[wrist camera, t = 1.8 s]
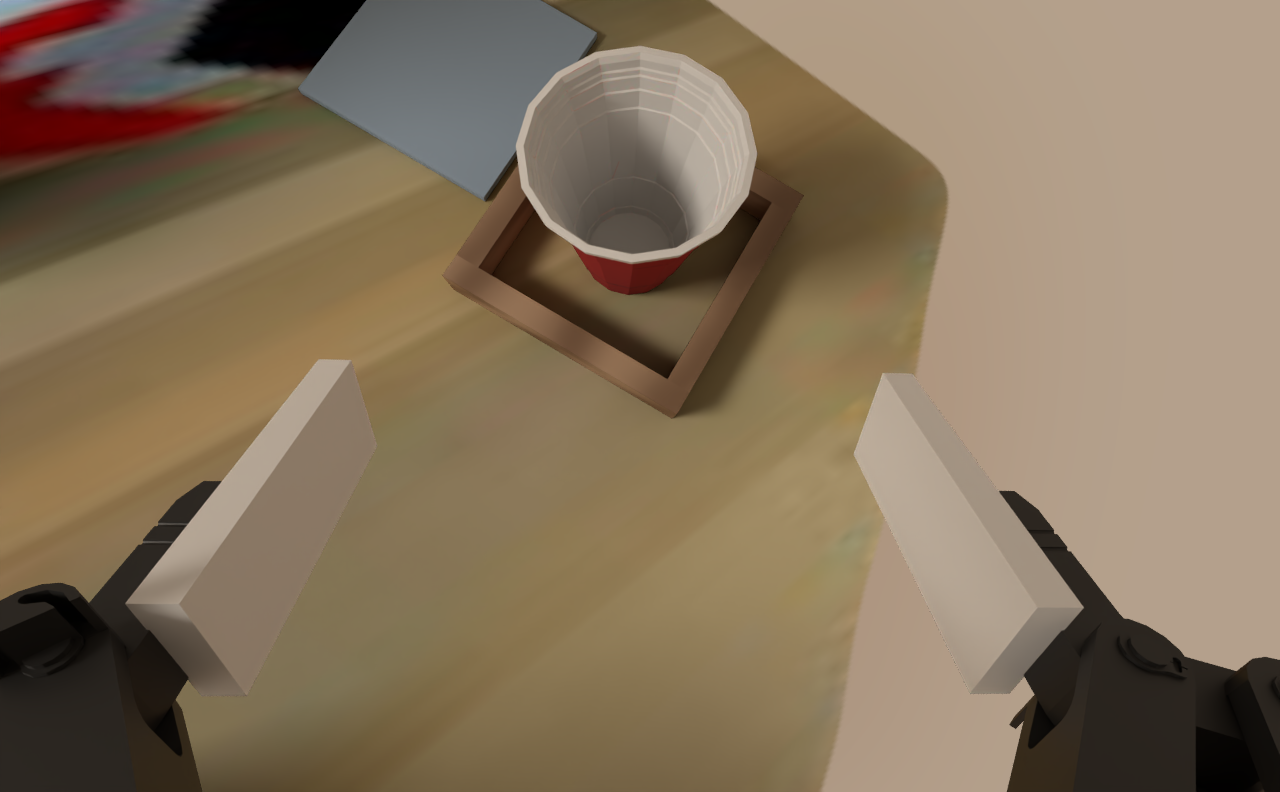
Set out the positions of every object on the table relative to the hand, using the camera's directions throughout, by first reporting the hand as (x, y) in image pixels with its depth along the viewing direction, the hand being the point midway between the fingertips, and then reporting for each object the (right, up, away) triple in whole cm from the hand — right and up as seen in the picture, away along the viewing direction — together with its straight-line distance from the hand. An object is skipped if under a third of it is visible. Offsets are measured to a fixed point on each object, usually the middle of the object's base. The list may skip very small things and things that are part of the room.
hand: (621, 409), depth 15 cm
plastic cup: (0, +10, +23) cm, 25 cm away
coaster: (-12, +22, +23) cm, 35 cm away
